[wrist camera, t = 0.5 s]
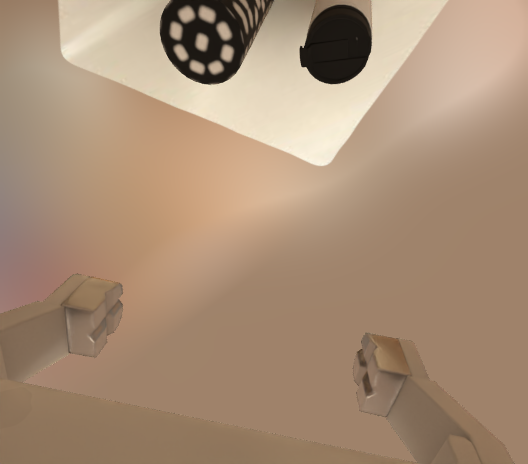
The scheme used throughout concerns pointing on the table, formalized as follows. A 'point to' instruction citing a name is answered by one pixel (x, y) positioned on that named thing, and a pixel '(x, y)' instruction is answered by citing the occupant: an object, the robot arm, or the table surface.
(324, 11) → the travel mug
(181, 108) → the table surface
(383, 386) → the robot arm
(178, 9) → the spotted tube
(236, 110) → the table surface
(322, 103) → the table surface
